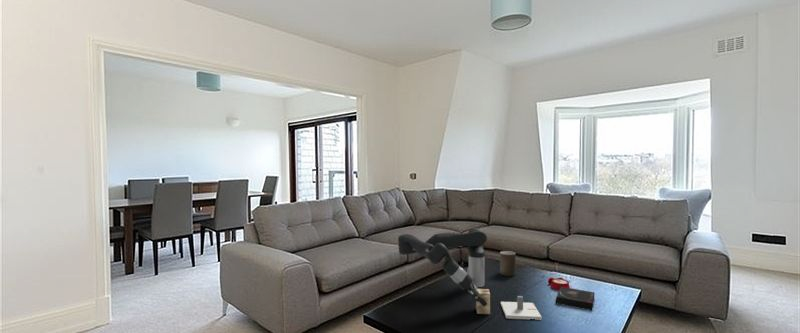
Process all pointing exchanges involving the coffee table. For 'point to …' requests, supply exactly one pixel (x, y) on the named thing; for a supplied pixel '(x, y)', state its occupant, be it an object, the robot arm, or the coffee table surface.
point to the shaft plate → (520, 310)
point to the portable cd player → (575, 298)
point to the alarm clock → (558, 283)
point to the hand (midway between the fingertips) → (484, 301)
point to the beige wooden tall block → (486, 297)
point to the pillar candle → (508, 263)
